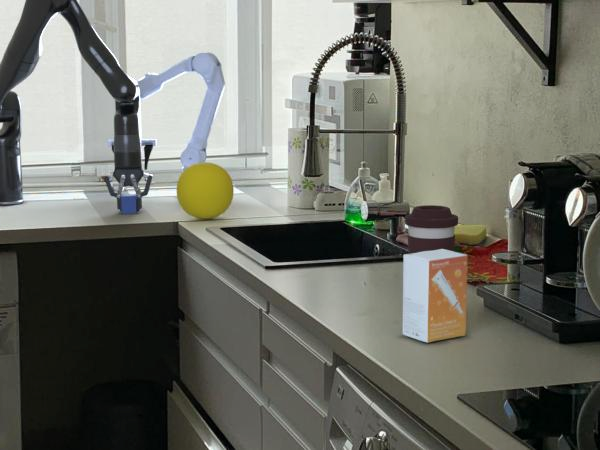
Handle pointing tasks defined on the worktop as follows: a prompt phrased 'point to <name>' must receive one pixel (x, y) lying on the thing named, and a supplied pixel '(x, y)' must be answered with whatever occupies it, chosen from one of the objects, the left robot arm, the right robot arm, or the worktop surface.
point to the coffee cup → (431, 228)
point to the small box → (434, 295)
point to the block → (129, 204)
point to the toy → (205, 190)
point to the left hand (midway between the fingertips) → (129, 210)
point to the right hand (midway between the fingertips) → (133, 169)
